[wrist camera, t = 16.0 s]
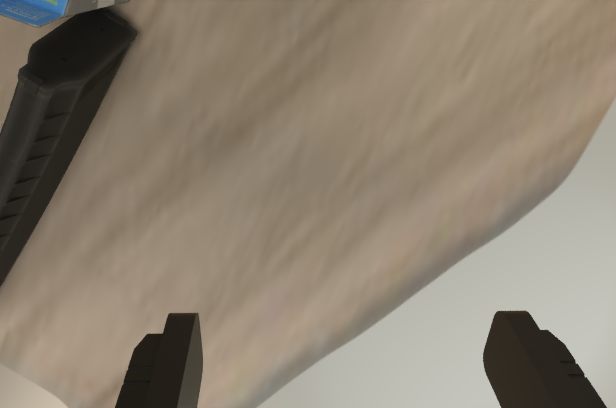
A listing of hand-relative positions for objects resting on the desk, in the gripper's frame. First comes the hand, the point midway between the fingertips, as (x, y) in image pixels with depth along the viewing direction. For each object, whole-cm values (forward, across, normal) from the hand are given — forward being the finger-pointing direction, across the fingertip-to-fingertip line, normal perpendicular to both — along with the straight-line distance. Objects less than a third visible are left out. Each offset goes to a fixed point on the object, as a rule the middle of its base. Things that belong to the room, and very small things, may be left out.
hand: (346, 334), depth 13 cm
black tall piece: (+27, +21, +9) cm, 36 cm away
